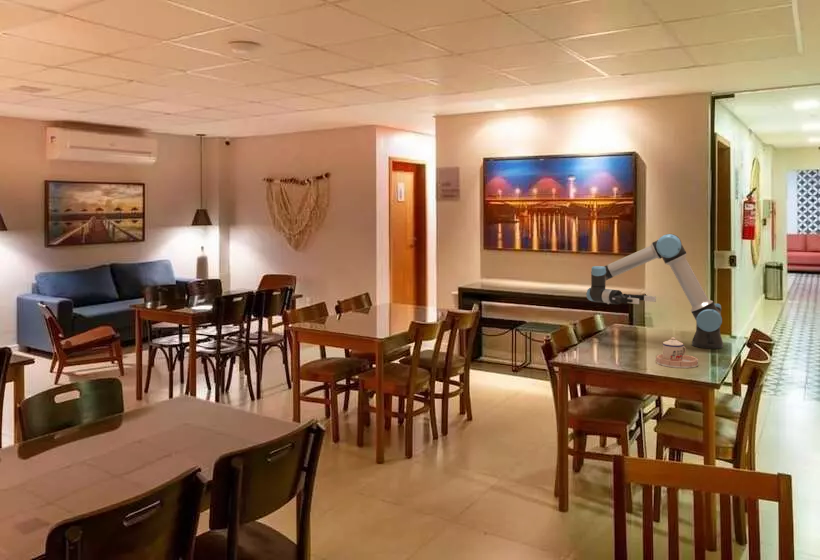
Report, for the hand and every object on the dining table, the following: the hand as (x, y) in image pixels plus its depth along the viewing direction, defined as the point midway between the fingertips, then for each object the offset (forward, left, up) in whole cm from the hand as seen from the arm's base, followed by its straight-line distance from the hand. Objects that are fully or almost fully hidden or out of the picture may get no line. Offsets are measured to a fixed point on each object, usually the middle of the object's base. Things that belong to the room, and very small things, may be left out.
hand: (647, 300), depth 337 cm
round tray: (+10, +25, -27) cm, 38 cm away
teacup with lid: (+11, +25, -26) cm, 38 cm away
